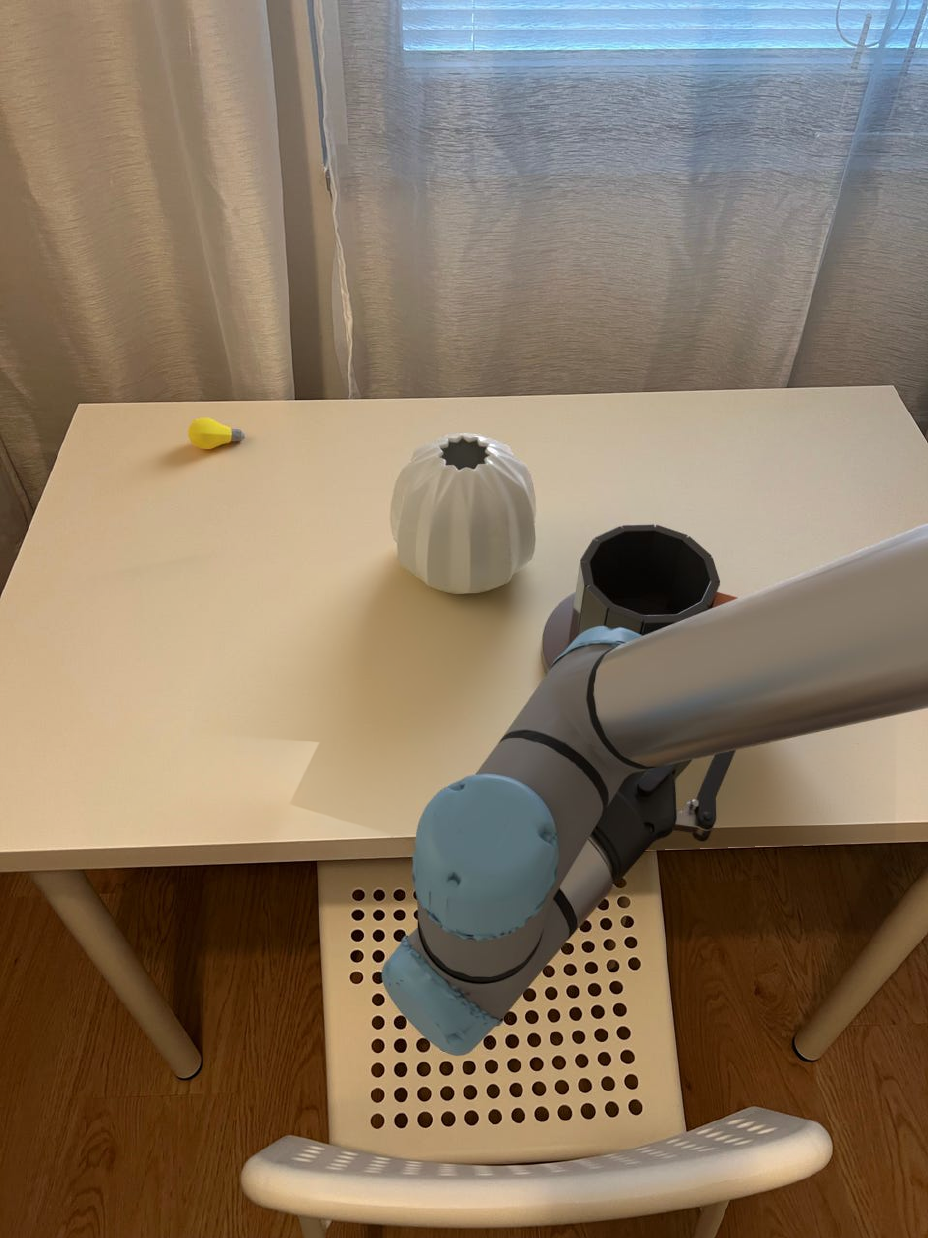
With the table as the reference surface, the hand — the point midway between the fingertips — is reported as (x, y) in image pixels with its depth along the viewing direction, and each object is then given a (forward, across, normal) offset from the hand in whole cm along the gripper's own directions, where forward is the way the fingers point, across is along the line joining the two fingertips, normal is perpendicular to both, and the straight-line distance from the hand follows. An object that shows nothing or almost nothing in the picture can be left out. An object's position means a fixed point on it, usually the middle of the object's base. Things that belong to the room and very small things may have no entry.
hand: (752, 651), depth 76 cm
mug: (-2, -7, -5) cm, 9 cm away
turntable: (-2, -10, -7) cm, 12 cm away
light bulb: (-8, -61, -7) cm, 62 cm away
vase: (-3, -29, -7) cm, 30 cm away
